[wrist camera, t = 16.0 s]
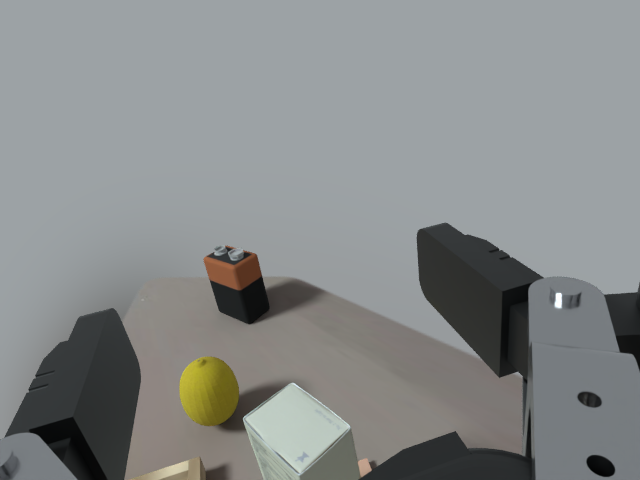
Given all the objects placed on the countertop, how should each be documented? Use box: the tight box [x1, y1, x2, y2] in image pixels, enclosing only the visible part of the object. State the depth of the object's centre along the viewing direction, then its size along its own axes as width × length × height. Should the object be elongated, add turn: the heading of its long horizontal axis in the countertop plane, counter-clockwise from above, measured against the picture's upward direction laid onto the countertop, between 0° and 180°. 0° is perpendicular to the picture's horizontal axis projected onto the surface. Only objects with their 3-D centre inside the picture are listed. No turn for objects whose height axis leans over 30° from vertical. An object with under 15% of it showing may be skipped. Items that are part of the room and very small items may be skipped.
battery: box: [204, 246, 270, 324], centre depth 60 cm, size 4×7×10 cm, turn 51°
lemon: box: [180, 357, 239, 426], centre depth 43 cm, size 6×6×8 cm
